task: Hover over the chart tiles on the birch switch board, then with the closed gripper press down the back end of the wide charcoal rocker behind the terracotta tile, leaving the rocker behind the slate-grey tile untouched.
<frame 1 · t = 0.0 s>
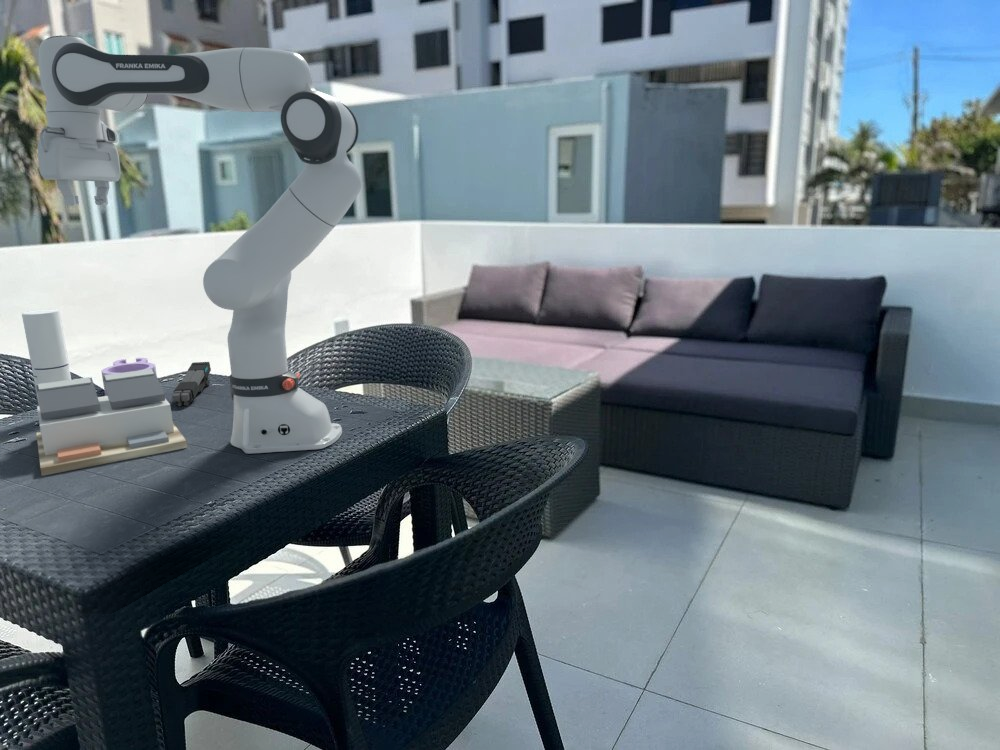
hand: (87, 205, 137), 48 cm above the table, fingers open, 8 cm apart
cylindrical container: (59, 419, 163), on the table
left rocker: (67, 397, 142), point 10 cm above the table, hinge at 15.0°
switch unit: (110, 443, 146), on the table
clip: (133, 392, 187), on the table
right rocker: (133, 387, 149), point 10 cm above the table, hinge at 15.0°
gun: (194, 397, 181), on the table
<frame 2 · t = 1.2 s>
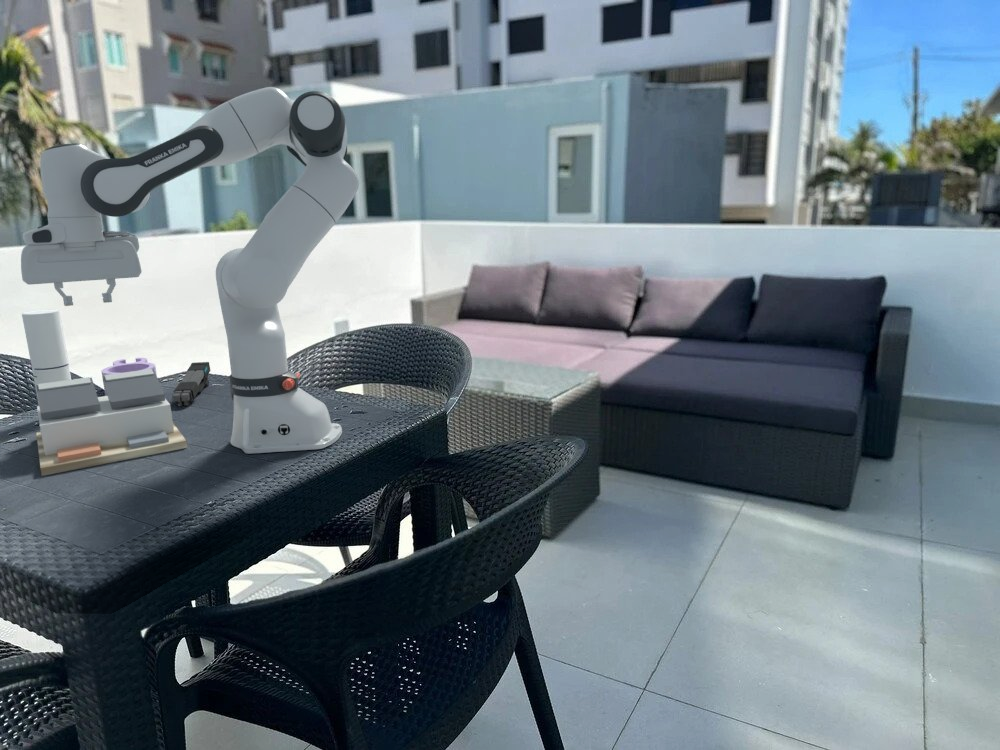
hand: (88, 303, 139), 29 cm above the table, fingers open, 5 cm apart
nothing on the table moved.
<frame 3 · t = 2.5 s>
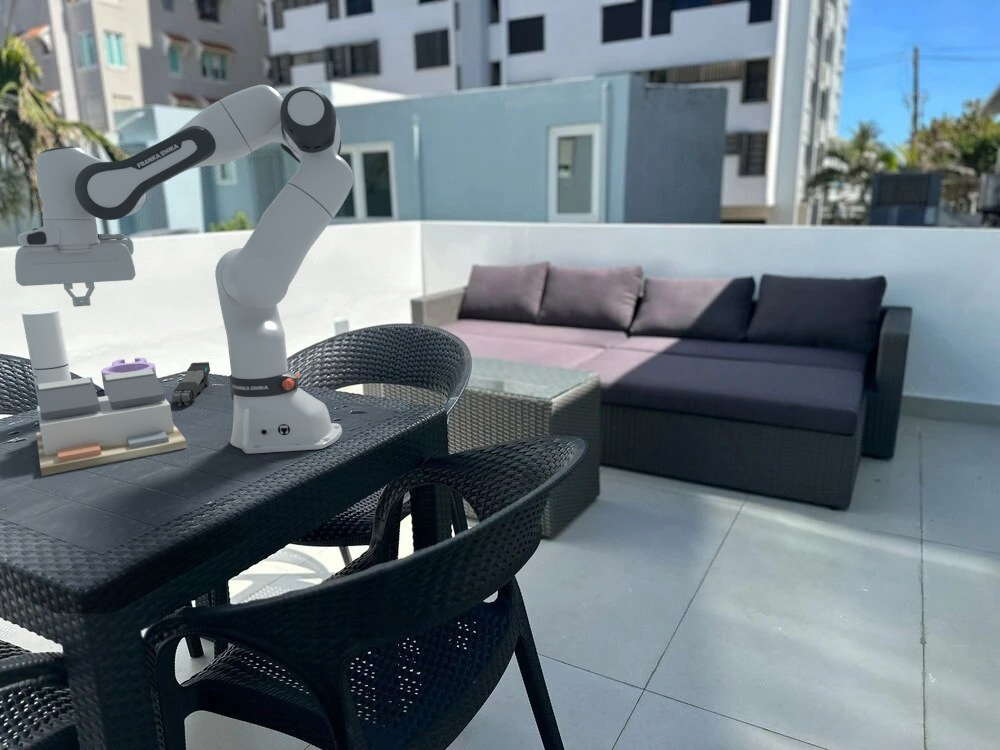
hand: (82, 305, 139), 29 cm above the table, fingers closed
nothing on the table moved.
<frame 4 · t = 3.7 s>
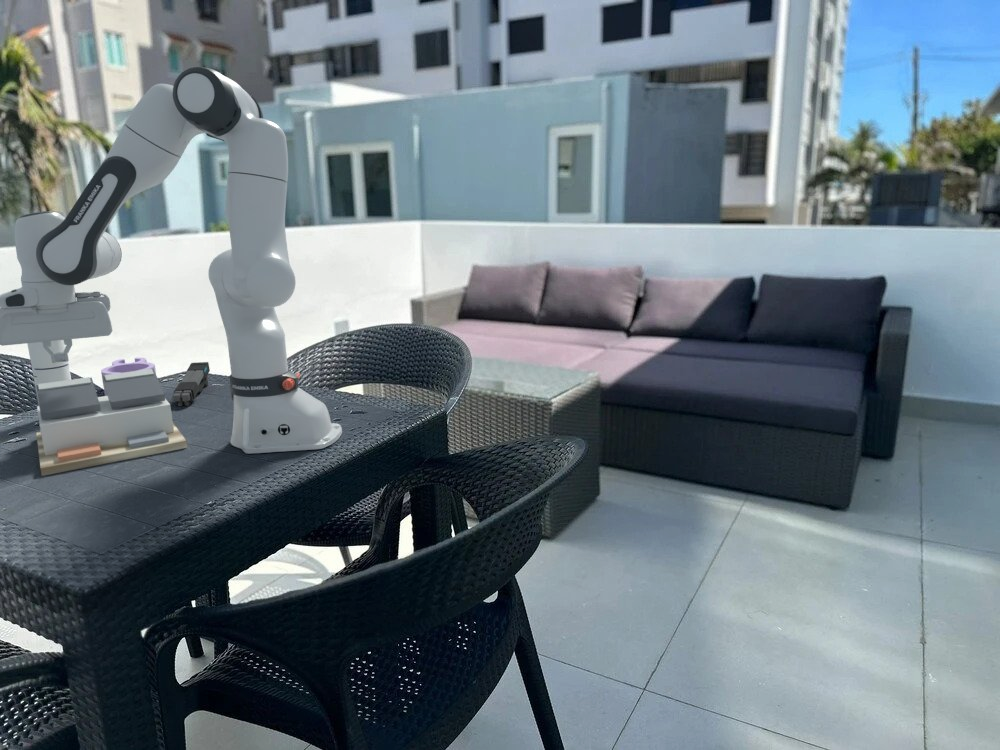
hand: (60, 361, 145), 17 cm above the table, fingers closed
nothing on the table moved.
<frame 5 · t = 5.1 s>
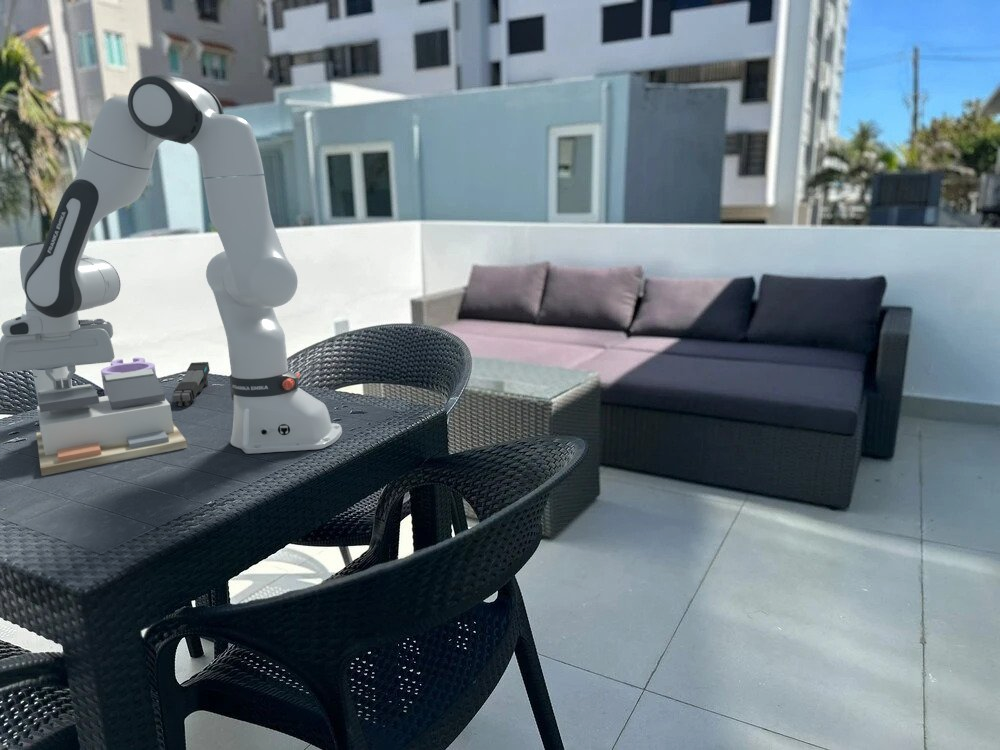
hand: (62, 387, 146), 11 cm above the table, fingers closed, pressing on left rocker
left rocker: (67, 397, 143), point 10 cm above the table, hinge at -1.7°, touching gripper
everything else where it was.
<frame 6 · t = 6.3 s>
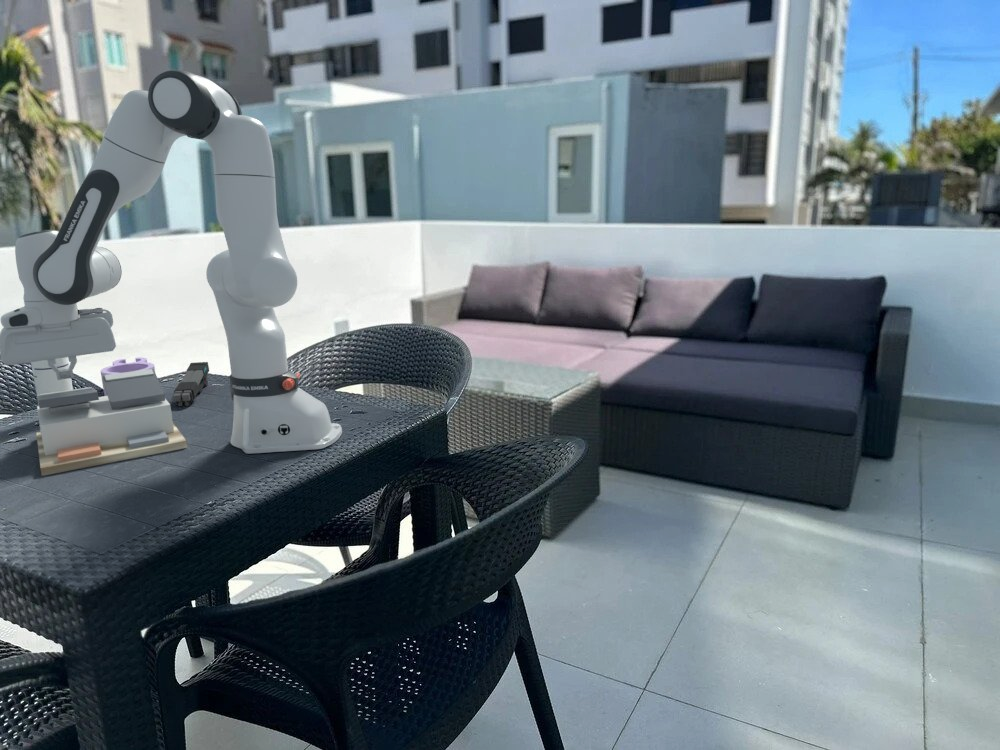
hand: (65, 378, 146), 13 cm above the table, fingers closed
left rocker: (67, 397, 143), point 10 cm above the table, hinge at -8.6°
everything else where it was.
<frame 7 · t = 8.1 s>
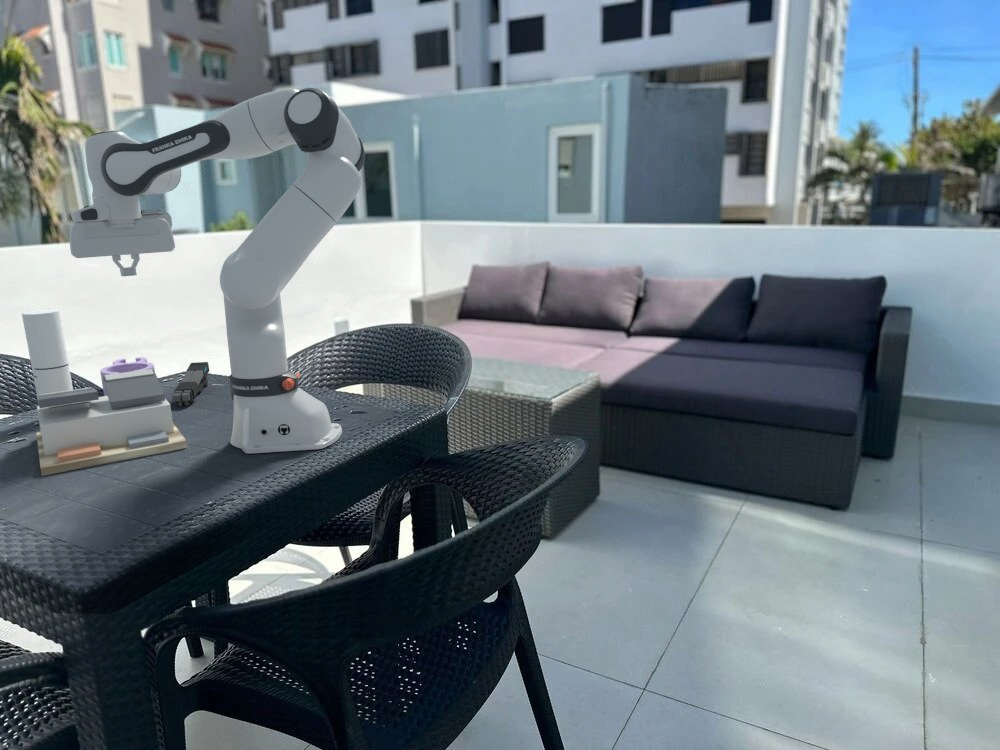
hand: (128, 275, 155), 33 cm above the table, fingers closed
left rocker: (67, 397, 143), point 10 cm above the table, hinge at -9.2°
everything else where it was.
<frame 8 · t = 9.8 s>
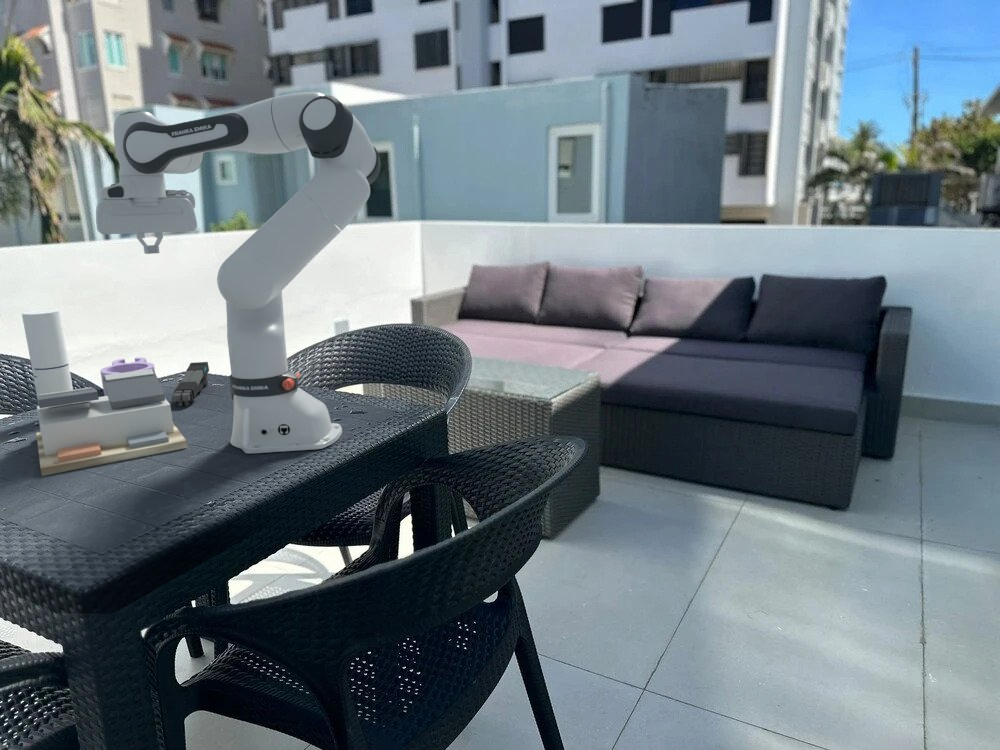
hand: (152, 253, 159), 37 cm above the table, fingers closed
nothing on the table moved.
at the end: left rocker at -9° (first picture: +15°); right rocker at +15° (first picture: +15°) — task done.
